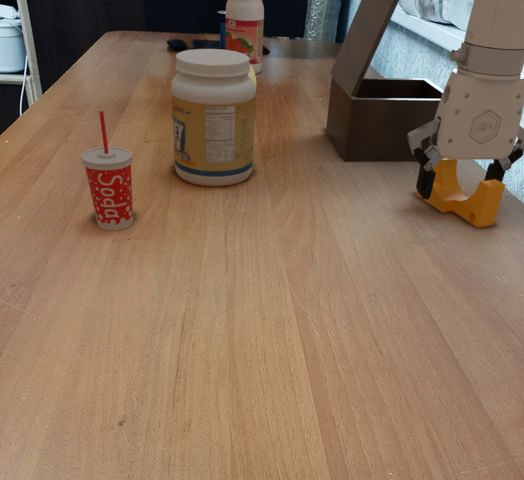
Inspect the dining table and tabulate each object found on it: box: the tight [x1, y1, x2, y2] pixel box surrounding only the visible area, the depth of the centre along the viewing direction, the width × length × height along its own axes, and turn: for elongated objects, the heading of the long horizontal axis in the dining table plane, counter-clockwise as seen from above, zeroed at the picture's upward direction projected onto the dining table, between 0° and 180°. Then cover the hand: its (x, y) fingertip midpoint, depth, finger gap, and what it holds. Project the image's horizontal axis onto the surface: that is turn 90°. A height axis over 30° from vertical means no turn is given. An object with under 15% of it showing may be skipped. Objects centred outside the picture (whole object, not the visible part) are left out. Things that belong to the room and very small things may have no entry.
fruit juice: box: [225, 0, 265, 75], centre depth 139 cm, size 9×9×28 cm
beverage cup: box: [80, 110, 134, 232], centre depth 70 cm, size 6×6×14 cm
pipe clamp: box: [415, 158, 506, 228], centre depth 79 cm, size 12×4×6 cm, turn 22°
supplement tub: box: [170, 48, 256, 187], centre depth 85 cm, size 12×12×17 cm
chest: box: [325, 76, 444, 162], centre depth 101 cm, size 18×15×10 cm
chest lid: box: [329, 0, 400, 97], centre depth 91 cm, size 18×15×5 cm
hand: (455, 195), depth 80 cm, fingers open, 9 cm apart
